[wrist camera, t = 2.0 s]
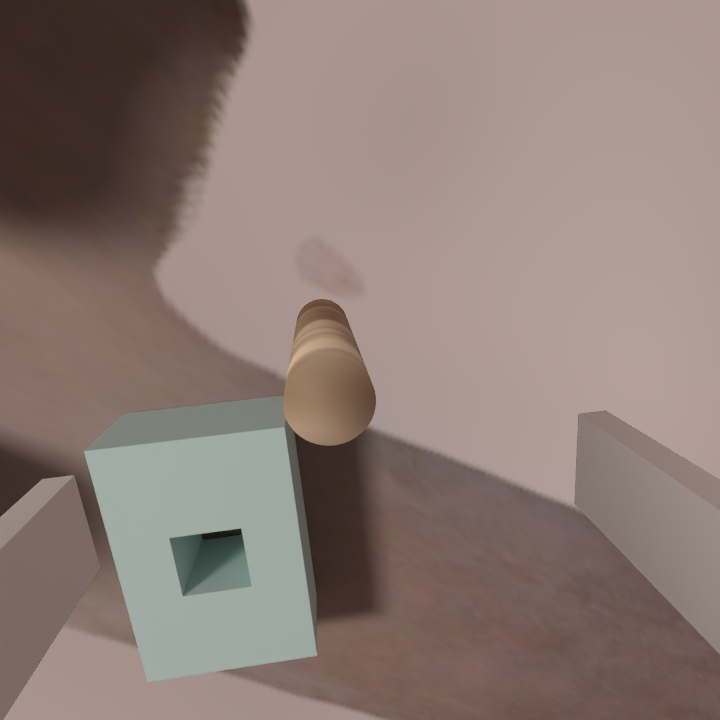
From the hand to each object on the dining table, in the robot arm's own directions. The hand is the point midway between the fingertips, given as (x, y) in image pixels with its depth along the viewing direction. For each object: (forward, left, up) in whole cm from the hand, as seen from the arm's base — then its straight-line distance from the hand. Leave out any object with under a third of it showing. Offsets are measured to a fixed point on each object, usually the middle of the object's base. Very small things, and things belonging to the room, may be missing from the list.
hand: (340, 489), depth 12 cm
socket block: (+14, -9, -22) cm, 28 cm away
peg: (0, 0, -22) cm, 22 cm away
